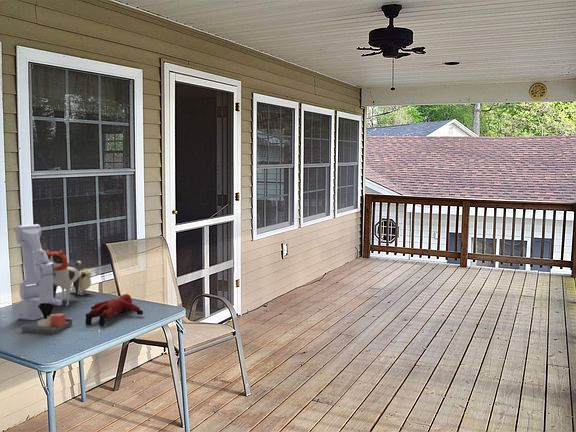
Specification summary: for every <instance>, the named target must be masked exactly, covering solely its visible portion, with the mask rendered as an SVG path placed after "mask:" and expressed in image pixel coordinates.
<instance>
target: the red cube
mask: <svg viewBox="0 0 576 432" xmlns="http://www.w3.org/2000/svg"><path fill="white" fill-rule="evenodd" d="M51 315H52V314H51ZM65 318H66V314H65V313H54V315H52V316H51V326H58V327H60V326H62V325H64V324H65Z"/></svg>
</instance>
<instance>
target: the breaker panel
mask: <svg viewBox="0 0 576 432" xmlns="http://www.w3.org/2000/svg"><path fill="white" fill-rule="evenodd" d="M41 319H44V317H41ZM39 320H40V319H39ZM39 320H38V319H37V320H35V321H34V322H32V323H31V322H30V323H29V324H21V333H29V334H41V335H50V336H51V335H54V334H56V333H59V332H61V331H63V330H66V329H67V328H69V327H71V326H73V318H71V317H65V324H64V325H62V326H60V327H58V326H51V323H50V326H49V327H44V326H38V321H39Z"/></svg>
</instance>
